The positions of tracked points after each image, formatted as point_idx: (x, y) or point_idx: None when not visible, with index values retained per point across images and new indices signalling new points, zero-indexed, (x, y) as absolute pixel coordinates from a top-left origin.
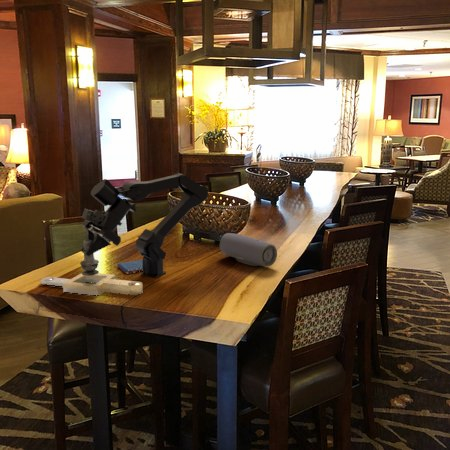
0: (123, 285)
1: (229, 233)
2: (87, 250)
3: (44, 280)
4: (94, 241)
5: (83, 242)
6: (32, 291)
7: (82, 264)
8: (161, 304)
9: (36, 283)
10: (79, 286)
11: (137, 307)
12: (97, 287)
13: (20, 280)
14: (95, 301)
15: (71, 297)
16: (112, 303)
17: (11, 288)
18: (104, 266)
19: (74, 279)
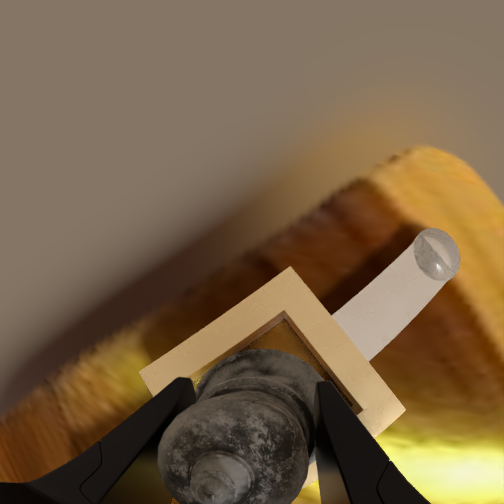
0: None
1: None
2: (170, 397)
3: (426, 238)
4: (65, 475)
5: (238, 401)
6: (368, 194)
7: (237, 354)
8: (14, 451)
9: (444, 227)
10: (214, 322)
11: (23, 400)
12: (143, 377)
13: (483, 197)
14: (119, 341)
15: (214, 288)
16: (74, 373)
17: (422, 157)
18: (481, 499)
19: (315, 333)
